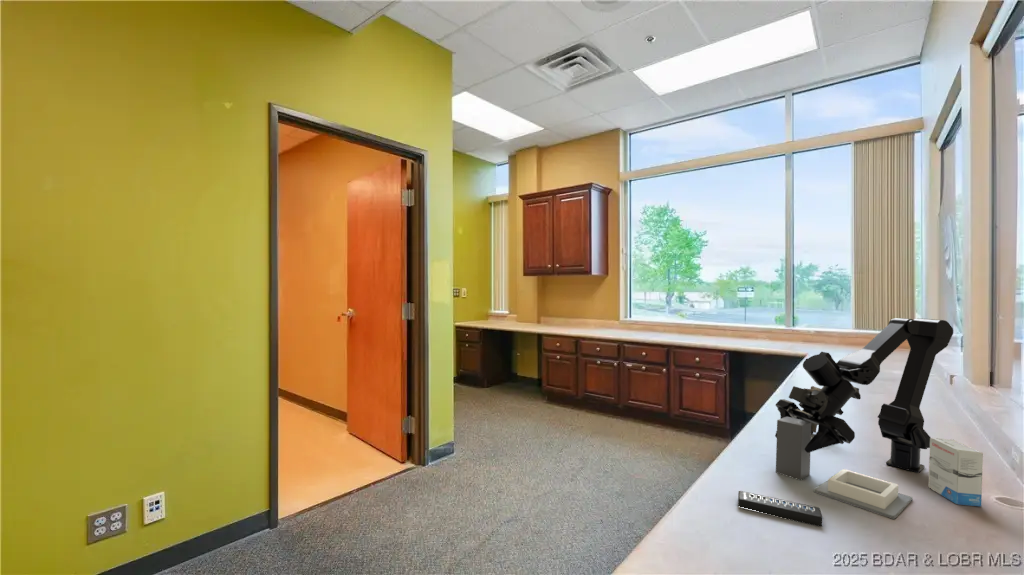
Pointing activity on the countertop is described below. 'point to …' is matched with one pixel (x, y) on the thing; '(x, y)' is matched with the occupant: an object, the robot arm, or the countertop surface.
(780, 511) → the multiport hub
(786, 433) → the plug
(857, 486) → the socket board
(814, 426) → the light bulb
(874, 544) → the countertop surface
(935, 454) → the ink box
